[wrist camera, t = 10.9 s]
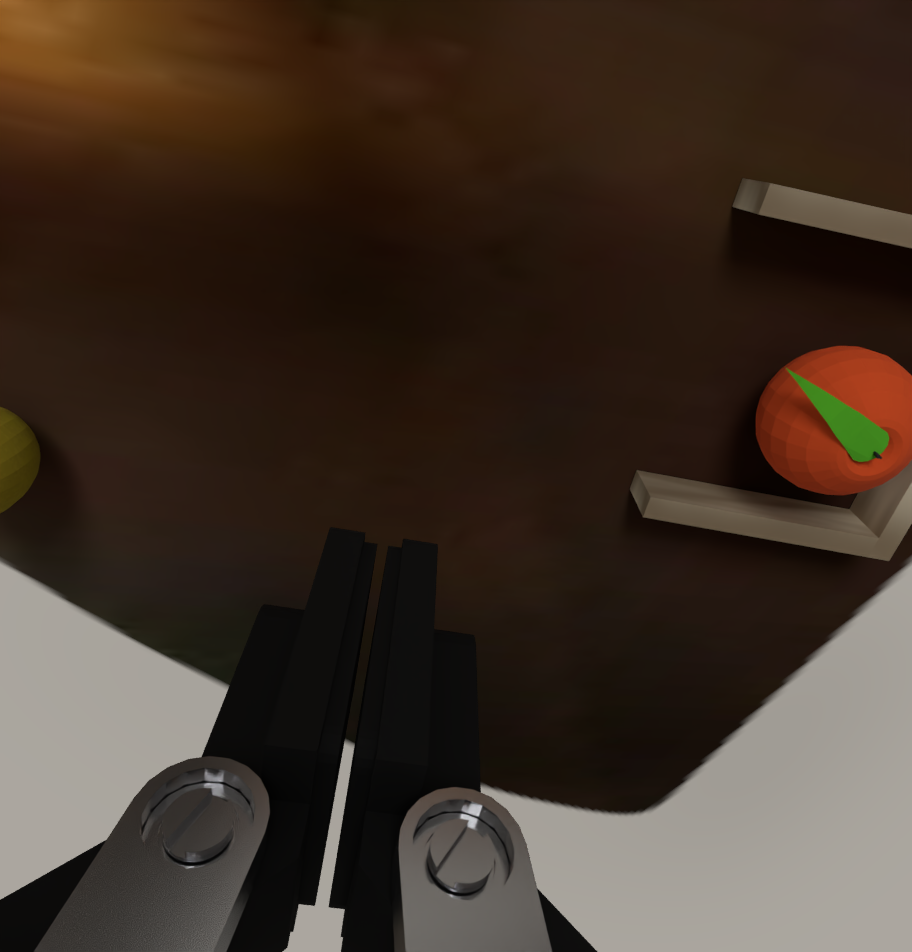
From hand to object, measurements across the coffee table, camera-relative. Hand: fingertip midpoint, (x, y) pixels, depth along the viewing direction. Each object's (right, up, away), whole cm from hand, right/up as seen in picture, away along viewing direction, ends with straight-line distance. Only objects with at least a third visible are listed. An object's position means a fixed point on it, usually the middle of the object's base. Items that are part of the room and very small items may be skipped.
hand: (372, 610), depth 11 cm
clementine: (+19, +7, +24) cm, 31 cm away
